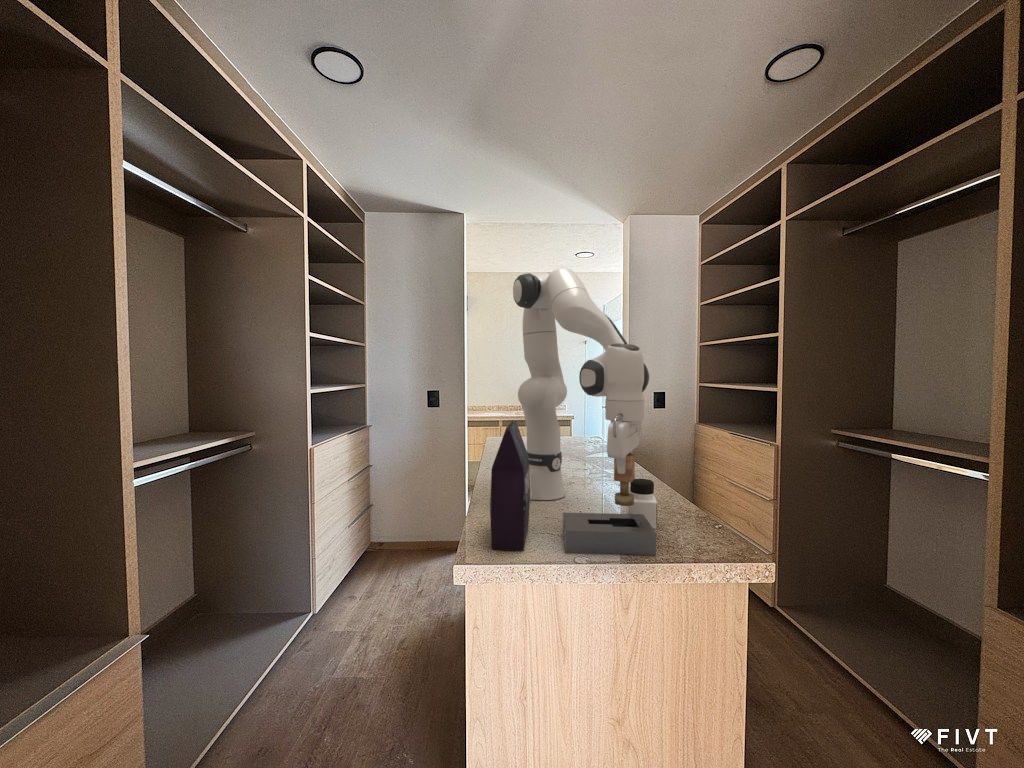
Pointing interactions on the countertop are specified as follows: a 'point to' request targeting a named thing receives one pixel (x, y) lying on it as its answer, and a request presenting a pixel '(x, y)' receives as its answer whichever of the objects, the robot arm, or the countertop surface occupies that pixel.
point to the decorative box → (510, 492)
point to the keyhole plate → (608, 534)
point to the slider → (625, 481)
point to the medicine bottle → (644, 500)
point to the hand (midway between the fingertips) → (624, 470)
